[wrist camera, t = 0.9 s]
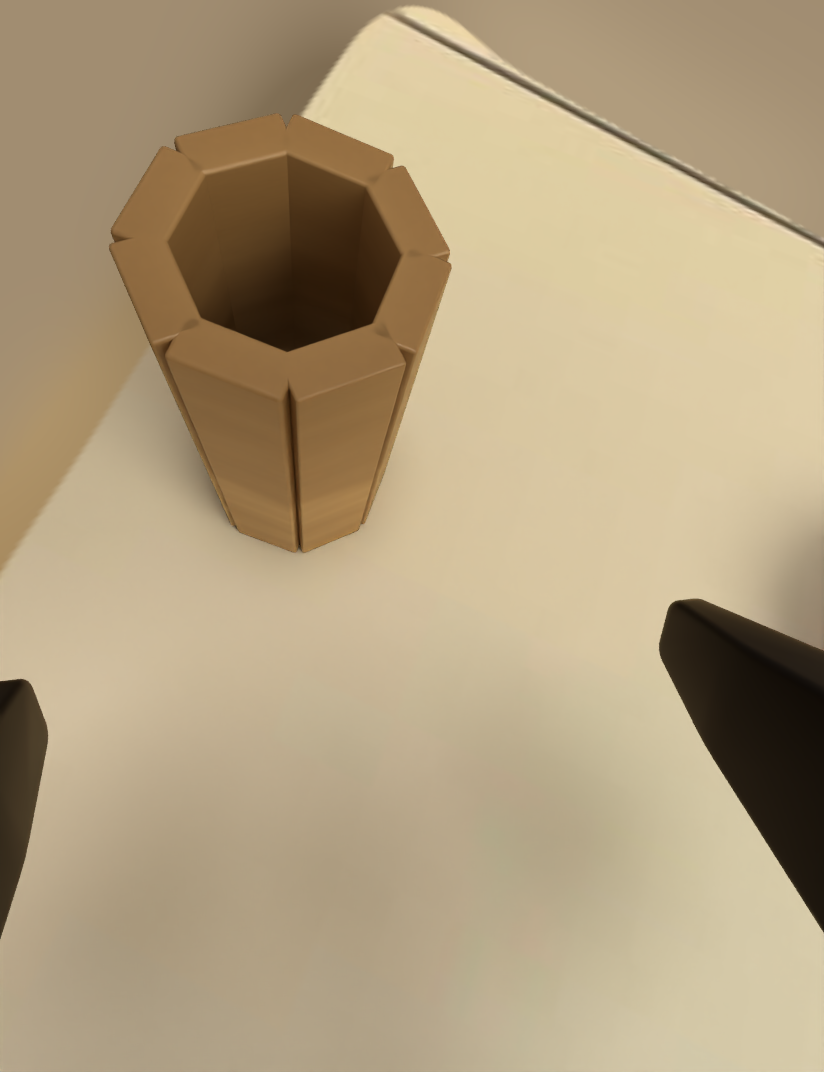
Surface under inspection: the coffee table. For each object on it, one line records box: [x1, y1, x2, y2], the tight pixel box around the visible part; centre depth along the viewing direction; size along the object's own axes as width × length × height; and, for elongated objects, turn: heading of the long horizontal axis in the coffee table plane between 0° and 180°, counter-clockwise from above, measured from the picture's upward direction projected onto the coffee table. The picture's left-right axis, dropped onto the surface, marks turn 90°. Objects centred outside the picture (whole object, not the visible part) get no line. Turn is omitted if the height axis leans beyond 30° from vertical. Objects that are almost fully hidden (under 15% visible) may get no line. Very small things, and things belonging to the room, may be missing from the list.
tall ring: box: [109, 113, 451, 553], centre depth 18 cm, size 6×6×12 cm
